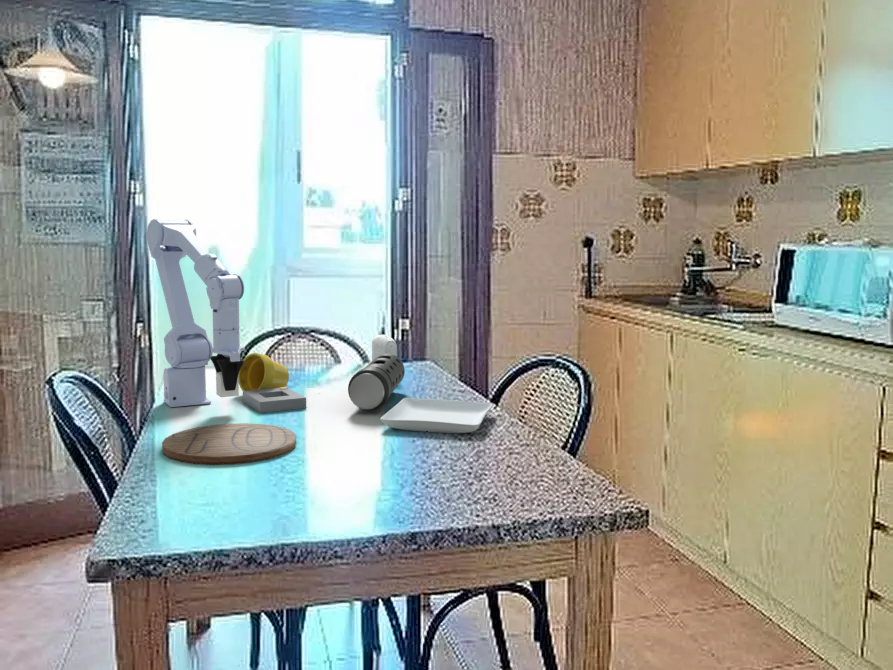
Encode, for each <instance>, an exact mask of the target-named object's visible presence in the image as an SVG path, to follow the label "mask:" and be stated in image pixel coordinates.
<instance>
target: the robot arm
mask: <svg viewBox="0 0 893 670" xmlns="http://www.w3.org/2000/svg"><path fill="white" fill-rule="evenodd" d="M196 229H197V227H196V226H195V225H194V224H193V222H192V221H191V220H190V219H183V220H181V219H180V220H179V219H156V218H153V219H151V220H150V221H149V223H148V225H147V229H146V233H145V237H146V241H147V246H148V250H149V252H150V257H151V258H153V259H154V260H155V265H156V268H157V272H158V277H159V280H160V284H161V285H160V286H161V287H162V292H163V297H164V300H165V304H166V308H167V311H168V316H169V320H170V324H171V327H172V328H170V330H169V331H168V332H167V333H166V334H165V336H164V337H163V342H164V356H165V359H166V361H167V363H168V364H169V365H170V367H166V368H164V370H163V401H164V403H165V404H167V406H168V407H169V408H175V407H188V406H196V405H197V406H198V405H199V406H200V405H207V404H211V403H212V401H211V400H210V399H208V398H207V389H206V388H207V384H206V382H207V381H206V380H207V379H206V366H208V365H209V362H210V361H211V363H212V365H213V367H214V369H215V373H216V372H222V377H223V383H224V388H225V391H231V390H235V388H236V384H237V379H238V375H239V372H240V369H241V367H242V365H243V363H244V359H242V358H241V352H243V351H244V352H245V351H246V347H244V346H240V343H241V342H240V300H241V299H242V298H243V296H244V293H245V285H244V281H243V279H242V278H241V275H240V274H238V273H233V272H229V270H228V269H227V267H225V266H224V265H223V263H222V262H221V261H220V260H219V258H218V256H217V255H216V254H214V253H207V251H206V249H205V247H204V246H203V245H202V243H201V242H200V241H199V239H198V238H197V230H196ZM186 256H187V257H188V258H189V259H190V260H192V262H193V263H194V264H193V270H194V272H195V273H196V274H197V276H198V277H199V278H200V279H201V281H203V283H204V284H205V286H206V289H205V290H206V294H207V296H208V297H207V298H208V299H209V306H210V309H212V337H213V338H212V340H213V341H212V342H213V343H212V342H211V339H209V337H208V335H207V330H205V329H204V327H201V326H200V325H199V324H196V322H195V319H194V314H193V312H192V308H191V303H190V301H189V296H188V292H187V288H186V284H185V280H184V276H183V273H182V272H183V271H182V268H181V265H180V261H181V260H182V259H183V258H185V257H186ZM213 354H216V355H213Z"/></svg>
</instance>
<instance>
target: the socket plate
mask: <svg viewBox="0 0 893 670" xmlns="http://www.w3.org/2000/svg"><path fill="white" fill-rule="evenodd" d="M242 402H243V403H245V404H246V405H248V406H249V407H251V408H252V409H254V410H255V411H257V412H259V413H261V414H262V413H270V412H271V413H272V412H280V411H289V410H290V411H291V410H302V409H307V397H306V396H304V395H302V394H300V393H299V392H296V391H294V390H292V389H290V388H289V387H287V386H286V387H281V388H272V389H261V390H249V391H242Z"/></svg>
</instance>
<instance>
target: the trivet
mask: <svg viewBox="0 0 893 670" xmlns="http://www.w3.org/2000/svg"><path fill="white" fill-rule="evenodd" d="M296 446H297V434H296V433H295V432H294V431H293V430H291V429H288V428H286V427H284V426H283V427H282V426H278V425H272V424H265V423H248V422H247V423H246V422H245V423H221V424H211V425H204V426H197V427H192V428H188V429H184V430H181V431H177V432H175V433H172V434H171V435H169V436H167V437H165V438H164V440H163V441H162V442H161V449H162V453H163V456H165V457H166V458H168V459H169V460H172V461H175V462H179V463H184V464H185V463H186V464H190V465H201V466H202V465H203V466H204V465H205V466H230V465H232V466H233V465H241V464H242V465H243V464H251V463H257V462H263V461H269V460H271V459H275V458H278V457H282V456H284V455H287V454H289V453H290V452H292V451H293V450H294V449H295V448H296Z"/></svg>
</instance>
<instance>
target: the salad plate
mask: <svg viewBox="0 0 893 670" xmlns="http://www.w3.org/2000/svg"><path fill="white" fill-rule="evenodd" d="M493 407H494V405H493V403H490V402H489V403H487V402H480V401H479V402H477V401H466V400H453V399H439V398H438V399H436V398H413V397H412V398H411V397H404V398H402V399H401V400H400V401H399V402H398V403H397V404H396V405H394V406H393V407H392V408H390V410H388V411H387V412H386V413H385V414H383V415H382V416H381V417H380V422H382V424H384V425H385V426H387V427H389V428H391V429H397V430H401V431H409V432H410V431H412V432H413V431H414V432H426V431H428V433H429V432H430V433H444V434H467V433H472V432H474V431H477V430H478V429H479V428H480V426H481V424H483V423H482V422H483V421H484V419H485V416H486V415H487V414H488V413H489V412H490V411H491V409H492V408H493Z"/></svg>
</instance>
